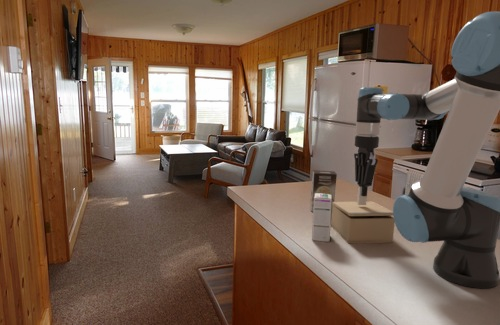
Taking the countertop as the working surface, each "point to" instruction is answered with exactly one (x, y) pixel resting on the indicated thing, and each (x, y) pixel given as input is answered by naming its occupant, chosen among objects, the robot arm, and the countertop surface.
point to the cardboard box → (362, 227)
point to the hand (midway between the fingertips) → (361, 204)
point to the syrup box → (321, 217)
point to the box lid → (363, 209)
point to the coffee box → (323, 184)
